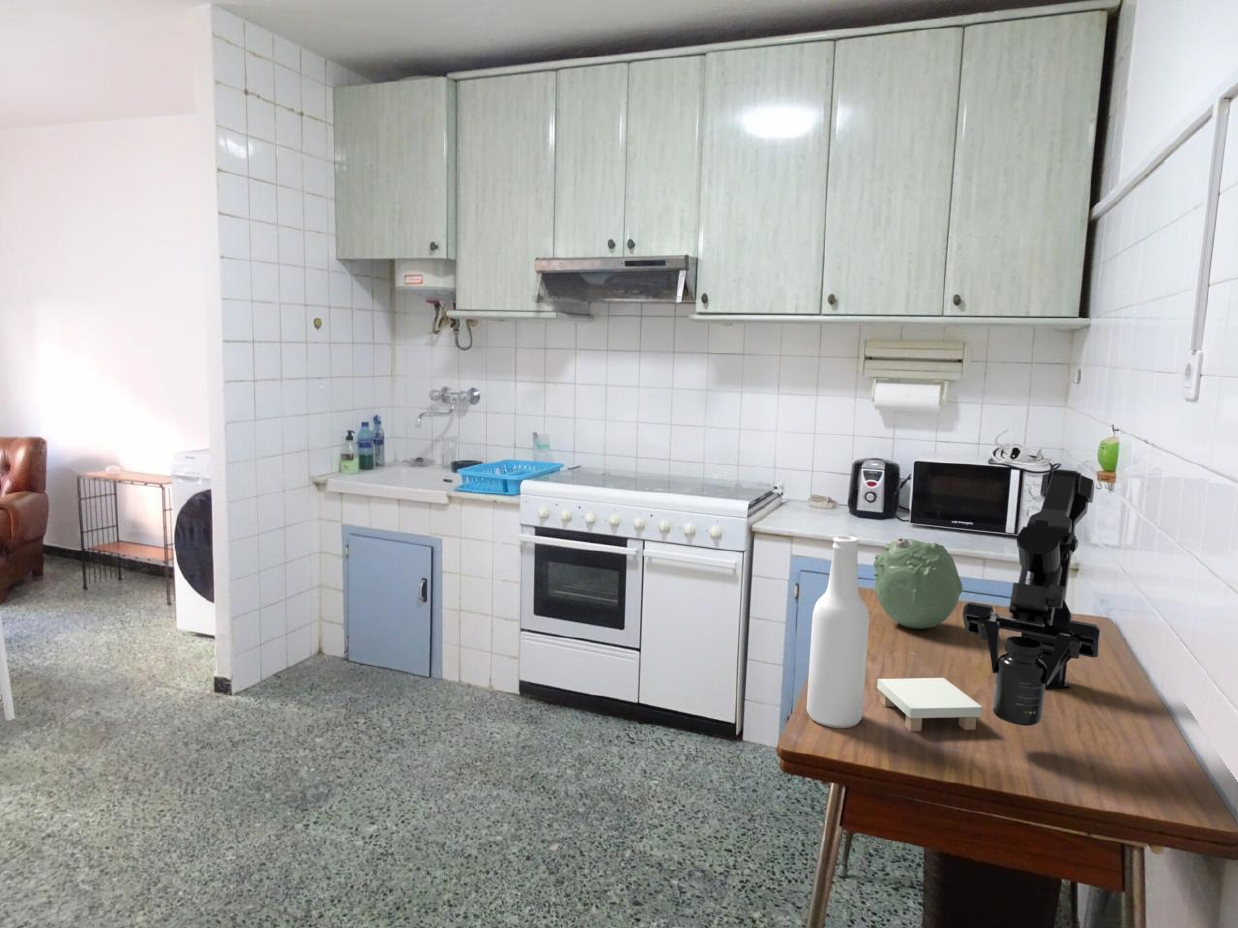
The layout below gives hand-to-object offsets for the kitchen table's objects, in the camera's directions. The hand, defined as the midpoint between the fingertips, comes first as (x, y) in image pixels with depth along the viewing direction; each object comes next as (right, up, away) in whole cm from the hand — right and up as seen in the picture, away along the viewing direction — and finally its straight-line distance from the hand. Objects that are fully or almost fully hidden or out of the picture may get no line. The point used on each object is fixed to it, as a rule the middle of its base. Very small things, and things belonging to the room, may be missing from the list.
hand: (1019, 677), depth 122 cm
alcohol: (-25, -10, +12) cm, 29 cm away
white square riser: (-9, -10, +14) cm, 19 cm away
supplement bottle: (+1, -7, +2) cm, 7 cm away
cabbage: (+6, -5, +60) cm, 61 cm away
